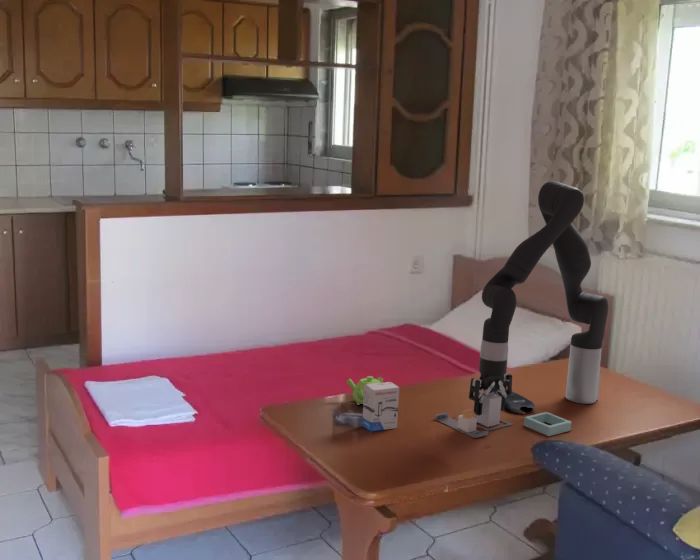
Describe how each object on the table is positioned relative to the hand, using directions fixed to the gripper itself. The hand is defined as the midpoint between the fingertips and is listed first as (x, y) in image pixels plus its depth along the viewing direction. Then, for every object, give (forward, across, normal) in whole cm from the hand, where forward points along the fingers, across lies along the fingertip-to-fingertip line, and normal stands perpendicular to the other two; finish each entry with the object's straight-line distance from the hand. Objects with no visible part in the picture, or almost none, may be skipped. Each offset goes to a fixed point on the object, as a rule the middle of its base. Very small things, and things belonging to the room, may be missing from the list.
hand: (488, 412), depth 226 cm
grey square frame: (+3, 0, 0) cm, 3 cm away
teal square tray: (+3, +12, -11) cm, 17 cm away
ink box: (+4, -29, +12) cm, 31 cm away
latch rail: (+3, -9, +1) cm, 10 cm away
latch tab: (+3, -9, -1) cm, 10 cm away
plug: (+3, 0, 0) cm, 3 cm away
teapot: (+4, -21, +29) cm, 36 cm away
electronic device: (+4, +18, +7) cm, 19 cm away
